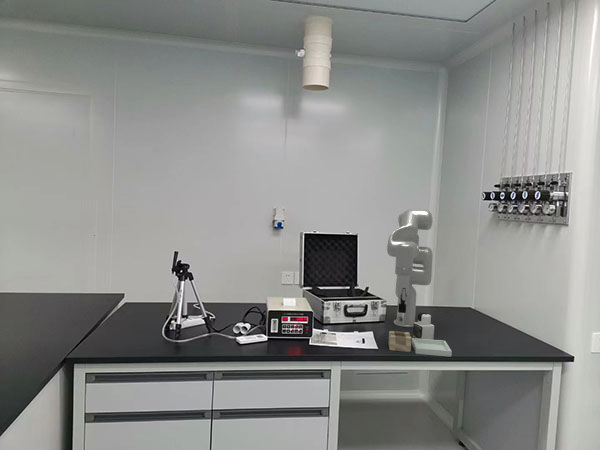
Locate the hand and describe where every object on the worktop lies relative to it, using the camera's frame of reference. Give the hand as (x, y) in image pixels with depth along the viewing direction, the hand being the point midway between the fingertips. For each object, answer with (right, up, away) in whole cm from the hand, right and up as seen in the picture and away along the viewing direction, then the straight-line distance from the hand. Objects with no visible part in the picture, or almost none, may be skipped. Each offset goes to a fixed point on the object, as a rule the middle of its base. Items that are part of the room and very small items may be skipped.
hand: (401, 311), depth 203 cm
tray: (+13, -17, 0) cm, 22 cm away
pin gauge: (0, -4, 0) cm, 4 cm away
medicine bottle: (+14, -17, +17) cm, 28 cm away
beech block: (-1, -17, 0) cm, 17 cm away
